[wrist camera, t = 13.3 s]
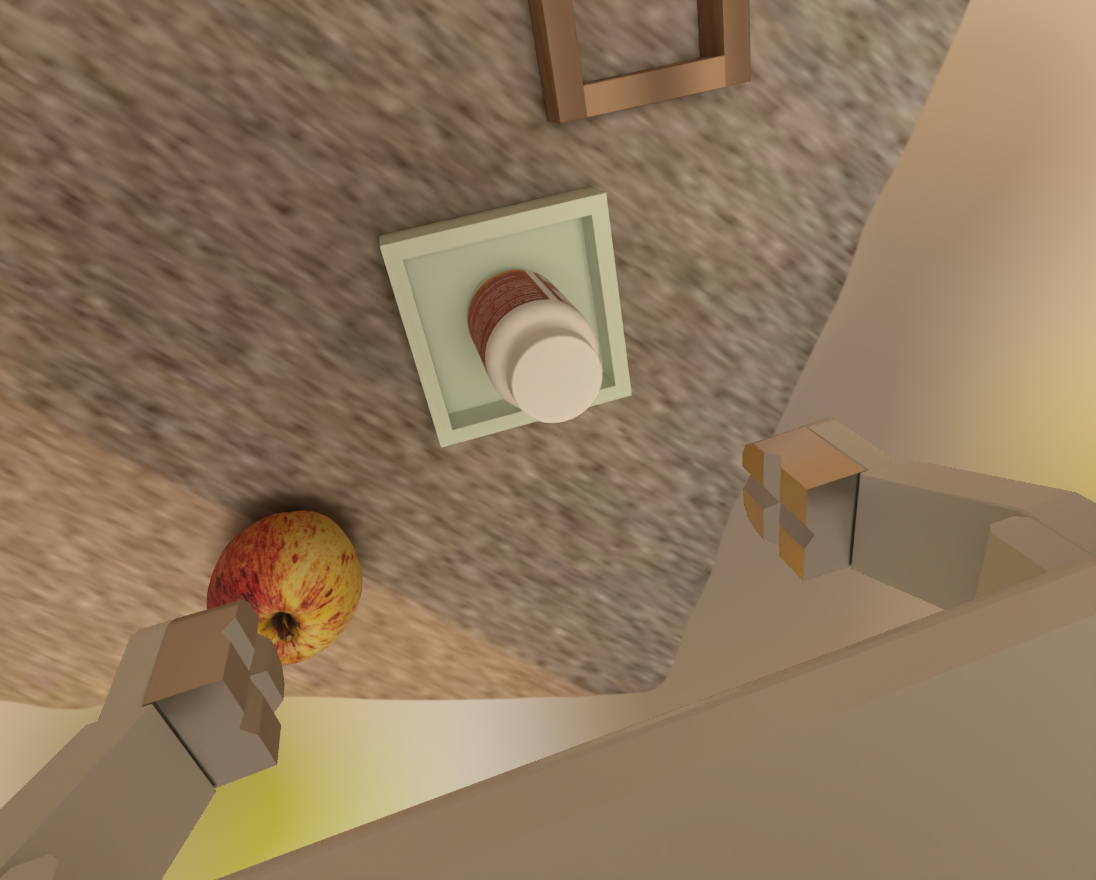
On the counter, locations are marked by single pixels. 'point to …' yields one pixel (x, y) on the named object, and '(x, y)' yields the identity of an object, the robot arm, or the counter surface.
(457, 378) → the tray
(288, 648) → the apple
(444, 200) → the counter surface
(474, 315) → the pill bottle
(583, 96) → the collar
